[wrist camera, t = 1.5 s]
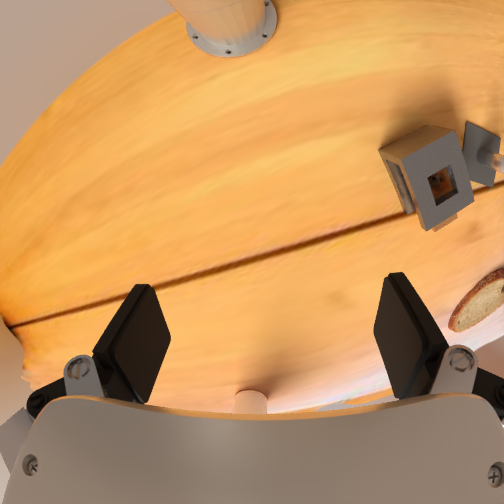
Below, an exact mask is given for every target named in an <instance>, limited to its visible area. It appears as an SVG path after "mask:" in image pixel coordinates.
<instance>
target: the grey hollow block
mask: <svg viewBox="0 0 504 504" xmlns="http://www.w3.org/2000/svg"><path fill="white" fill-rule="evenodd" d="M378 151H379V153H380V155H381V158H382V160H383V162H384V164H385V166H386V169H387V171H388V173H389V175H390V178H391V180H392V182H393V185H394V187H395V190H396V192H397V195H398V197H399V200H400V202H401V205H402V208H403V210H404V212H405V213H406V214H407V215H409V214H411V213H412V212H414V211H416V212H417V215H418V218H419V221H420V224H421V227H422V228H423V229H424V230H425V231H428V230H430V229H432V230H433V231H434V232H436V231H437V230H439V229H441V228H442V227H444V226H446V225H447V224H449V223H450V222H452V221H453V220H455V219H457V212H459V211H460V210H462V209H463V208H465V207H466V206H468V205H469V204H471V203H472V202H474V196H473V192H472V187H471V183H470V179H469V175H468V171H467V167H466V164H465V160H464V157H463V153H462V150H461V147H460V144H459V141H458V138H457V135H456V132H455V130H452V129H447V128H441V127H436V126H430V125H425V126H423V127H421V128H419V129H417V130H415V131H413V132H412V133H410V134H408V135H406V136H404V137H402V138H400V139H398V140H396V141H394V142H393V143H391V144H389V145H387V146H385V147H383V148H381V149H379V150H378ZM429 176H431V177H432V178H431V179H430V180H428V179H427V178H428V177H429Z"/></svg>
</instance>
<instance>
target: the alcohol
mask: <svg viewBox="0 0 504 504" xmlns="http://www.w3.org/2000/svg"><path fill="white" fill-rule="evenodd" d="M232 414H267V398H266V397H265V395H264V394H263V393H261V392H258V391H255V390H244V391H241V392H239V393H237V394H236V395H235V397H234V402H233V409H232Z"/></svg>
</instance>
